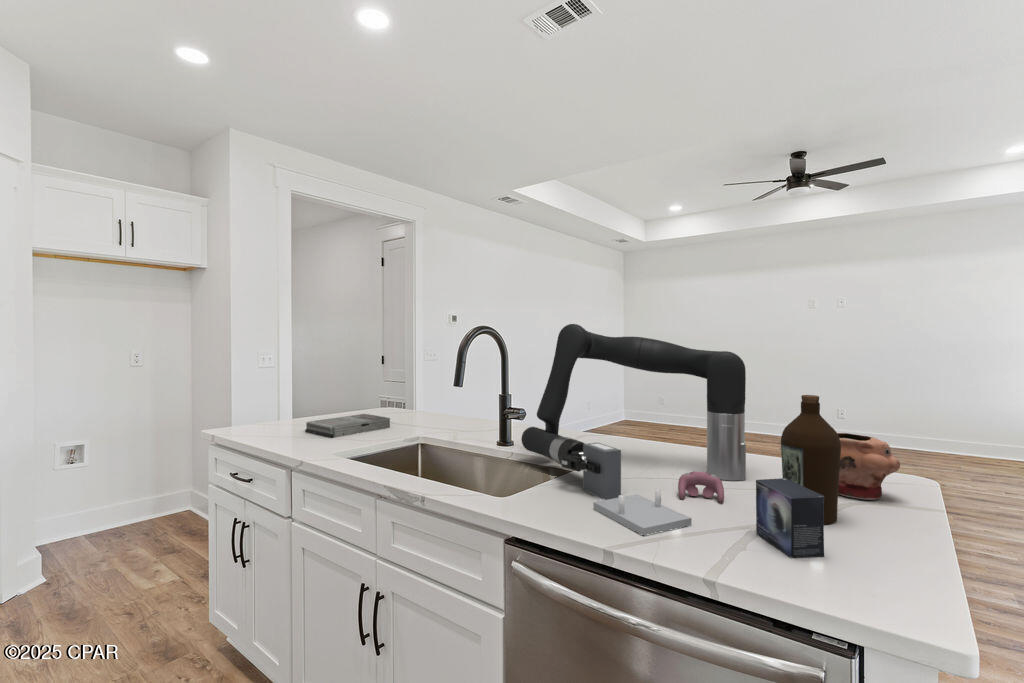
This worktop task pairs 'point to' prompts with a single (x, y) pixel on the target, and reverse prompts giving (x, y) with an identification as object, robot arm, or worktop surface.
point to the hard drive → (347, 425)
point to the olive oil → (813, 455)
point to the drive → (603, 471)
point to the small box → (790, 517)
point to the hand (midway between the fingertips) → (608, 468)
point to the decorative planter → (864, 466)
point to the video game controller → (700, 478)
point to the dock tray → (642, 513)
